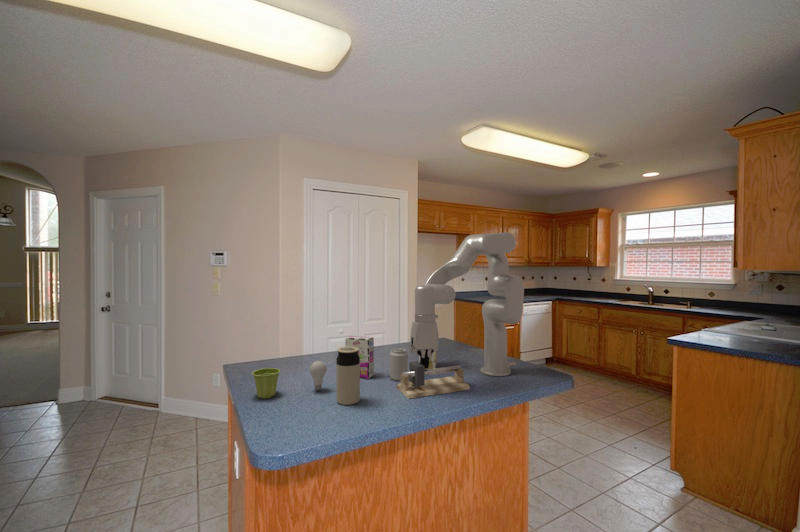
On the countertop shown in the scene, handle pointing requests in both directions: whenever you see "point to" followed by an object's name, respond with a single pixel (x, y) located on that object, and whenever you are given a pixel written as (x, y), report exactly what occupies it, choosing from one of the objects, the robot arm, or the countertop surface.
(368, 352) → the candy bar box
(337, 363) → the travel mug
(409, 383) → the pipe stand
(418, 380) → the collar
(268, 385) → the plant pot
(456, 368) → the pipe
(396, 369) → the can
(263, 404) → the countertop surface
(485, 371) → the robot arm
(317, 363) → the lightbulb
